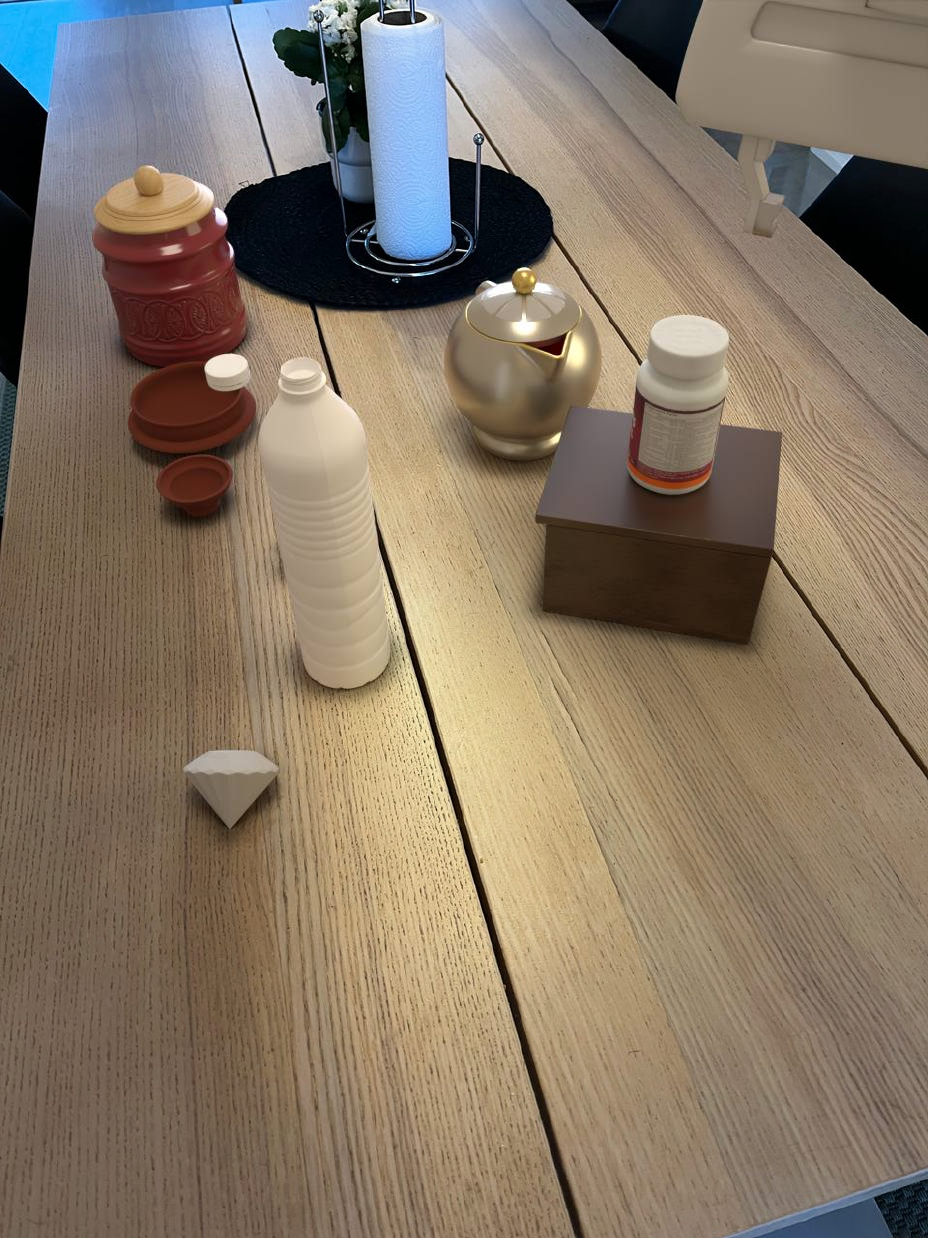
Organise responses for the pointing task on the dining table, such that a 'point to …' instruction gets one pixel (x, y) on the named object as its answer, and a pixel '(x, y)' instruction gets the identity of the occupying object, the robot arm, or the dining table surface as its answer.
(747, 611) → the chest
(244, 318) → the kitchen canister
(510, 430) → the teapot
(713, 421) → the pill bottle
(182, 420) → the pottery
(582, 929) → the dining table surface
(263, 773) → the gemstone
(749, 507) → the lid
